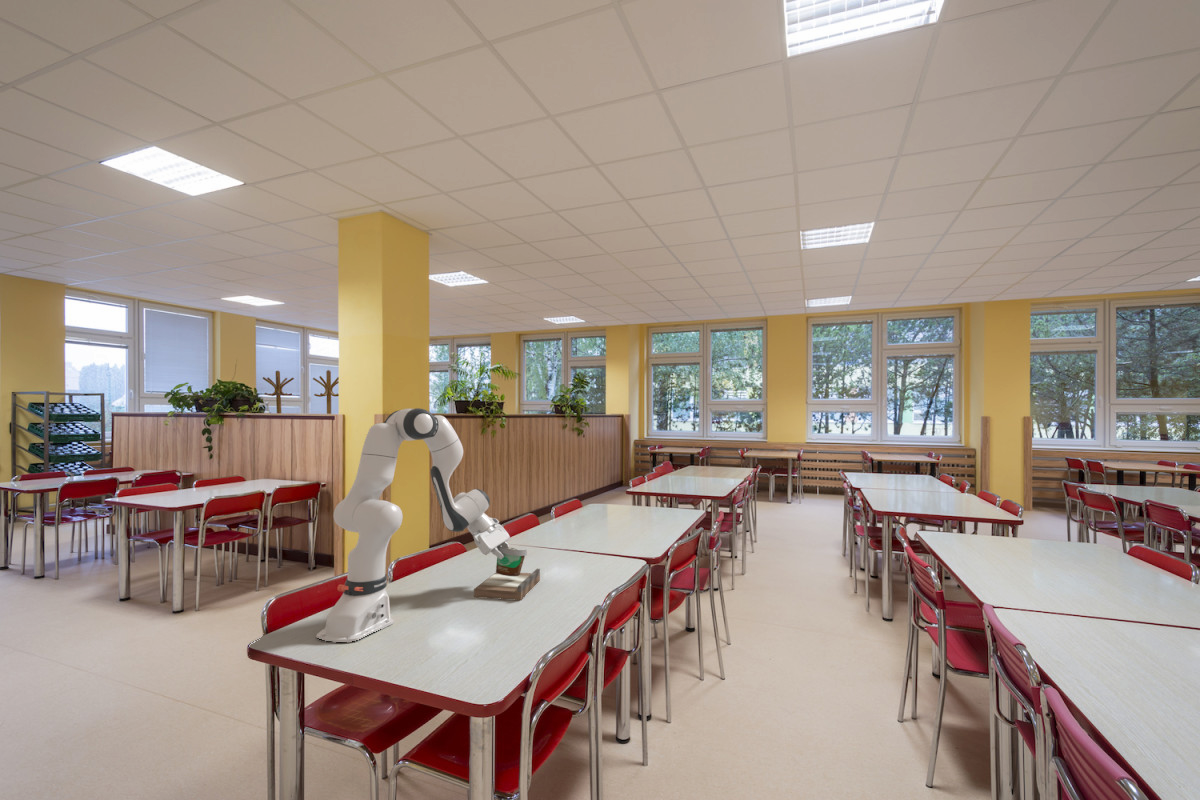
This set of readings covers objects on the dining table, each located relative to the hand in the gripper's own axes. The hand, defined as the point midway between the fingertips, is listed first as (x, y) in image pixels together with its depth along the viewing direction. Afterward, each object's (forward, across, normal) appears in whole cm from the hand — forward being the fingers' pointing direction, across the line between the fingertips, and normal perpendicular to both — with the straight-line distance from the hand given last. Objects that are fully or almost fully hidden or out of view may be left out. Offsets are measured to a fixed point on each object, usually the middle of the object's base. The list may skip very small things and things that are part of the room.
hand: (506, 555), depth 194 cm
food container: (+5, -1, +5) cm, 7 cm away
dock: (+10, 0, +8) cm, 13 cm away
